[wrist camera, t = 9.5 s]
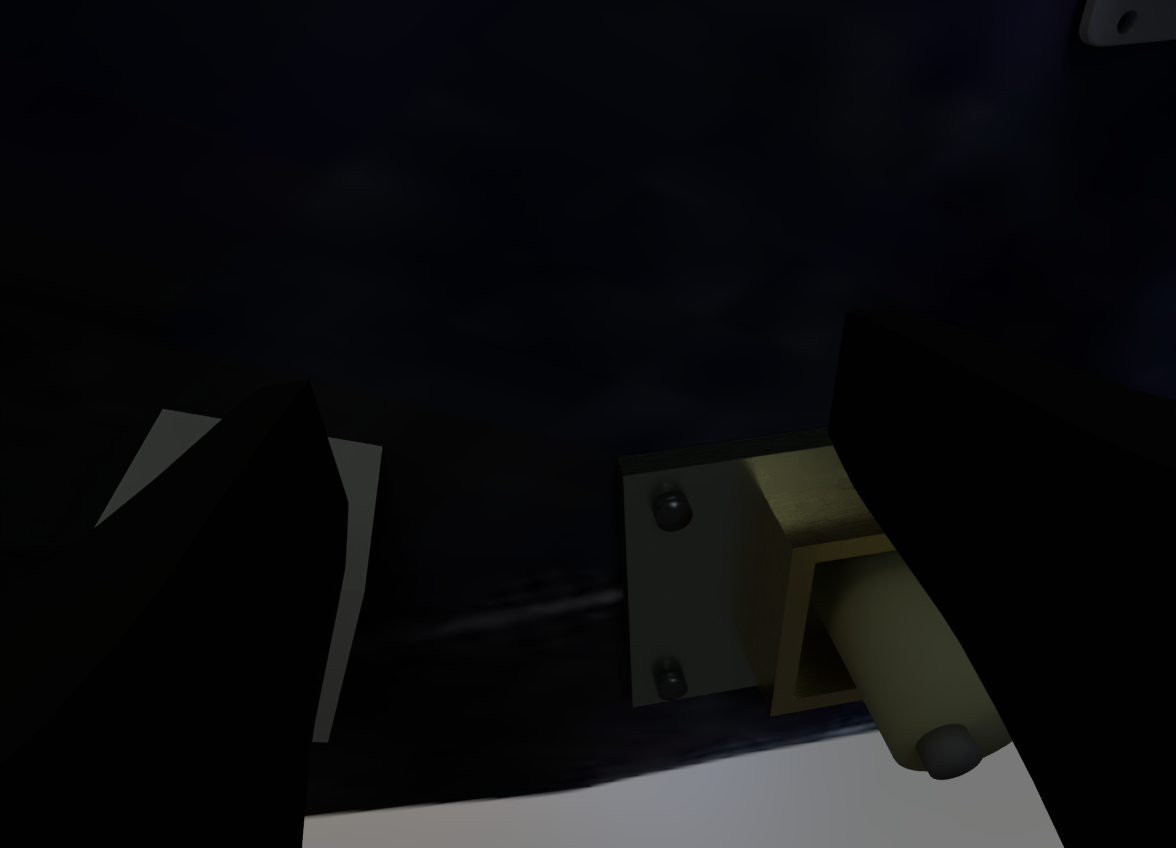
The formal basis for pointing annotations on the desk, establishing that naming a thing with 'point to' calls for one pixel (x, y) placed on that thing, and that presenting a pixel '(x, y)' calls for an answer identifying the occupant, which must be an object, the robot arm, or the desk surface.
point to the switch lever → (907, 665)
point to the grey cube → (360, 486)
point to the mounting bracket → (737, 568)
